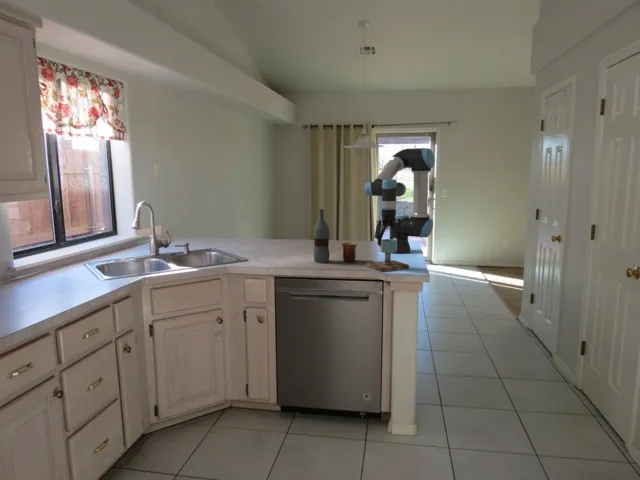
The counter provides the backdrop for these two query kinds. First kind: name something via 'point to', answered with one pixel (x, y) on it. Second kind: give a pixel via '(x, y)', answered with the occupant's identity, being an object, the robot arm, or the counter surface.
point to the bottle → (321, 240)
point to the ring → (389, 245)
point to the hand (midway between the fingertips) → (387, 250)
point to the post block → (387, 264)
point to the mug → (349, 251)
